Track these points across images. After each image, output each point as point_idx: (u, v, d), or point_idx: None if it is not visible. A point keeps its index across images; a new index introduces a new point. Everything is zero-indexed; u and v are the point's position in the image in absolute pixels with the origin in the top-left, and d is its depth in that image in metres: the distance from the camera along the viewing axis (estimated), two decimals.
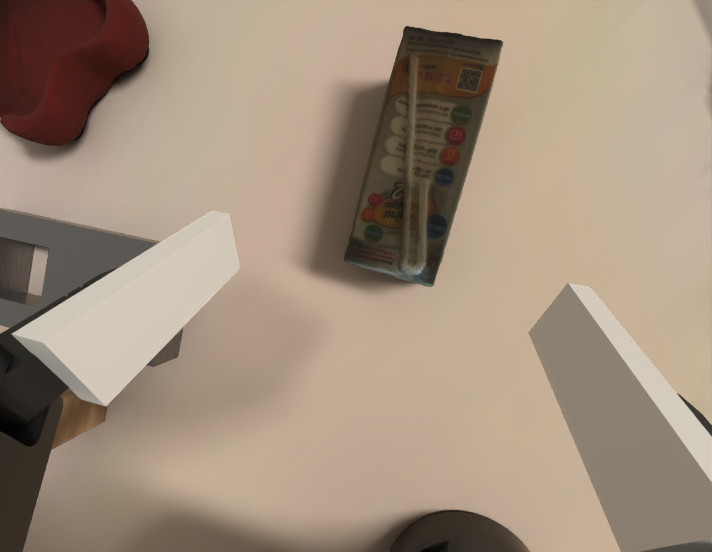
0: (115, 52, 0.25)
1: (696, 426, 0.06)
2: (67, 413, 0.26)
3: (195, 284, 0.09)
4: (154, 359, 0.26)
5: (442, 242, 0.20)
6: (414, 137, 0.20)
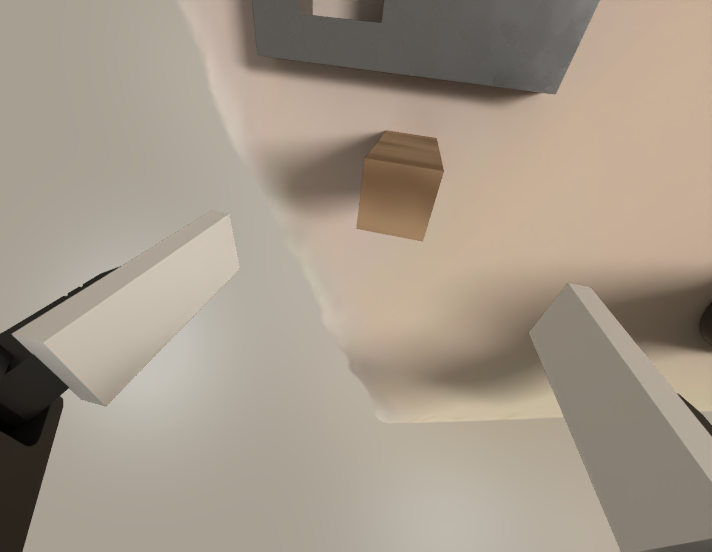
0: None
1: (696, 426, 0.06)
2: None
3: (195, 284, 0.09)
4: (559, 82, 0.19)
5: None
6: None
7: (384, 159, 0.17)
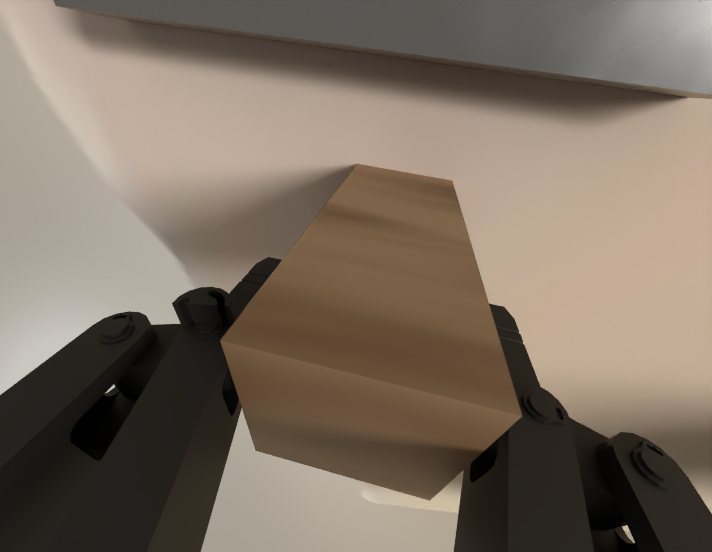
0: None
1: None
2: None
3: None
4: None
5: None
6: None
7: (300, 331, 0.05)
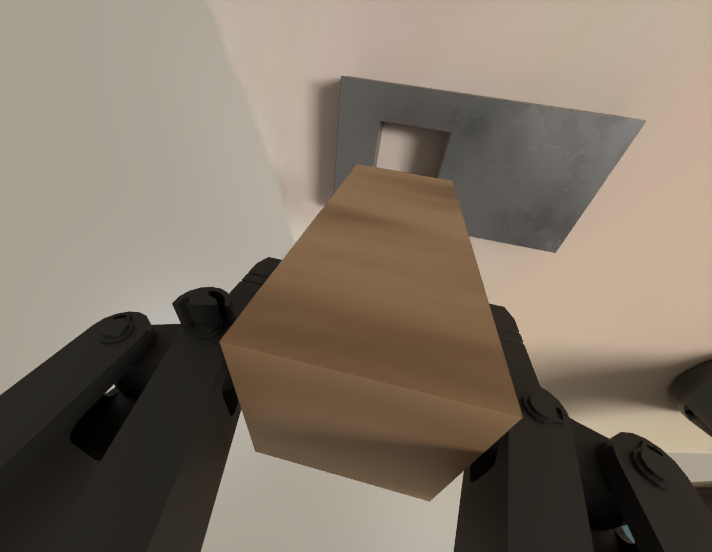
0: None
1: None
2: None
3: None
4: (558, 246, 0.27)
5: None
6: None
7: (299, 332, 0.05)
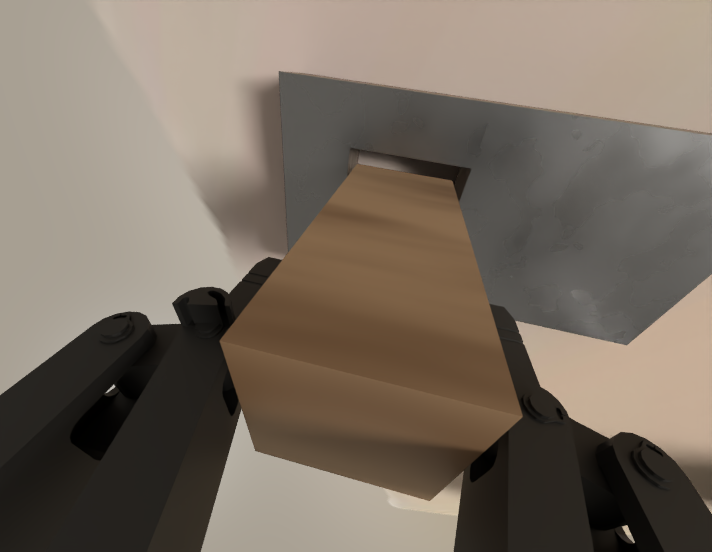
0: None
1: None
2: None
3: None
4: (632, 337, 0.17)
5: None
6: None
7: (299, 332, 0.05)
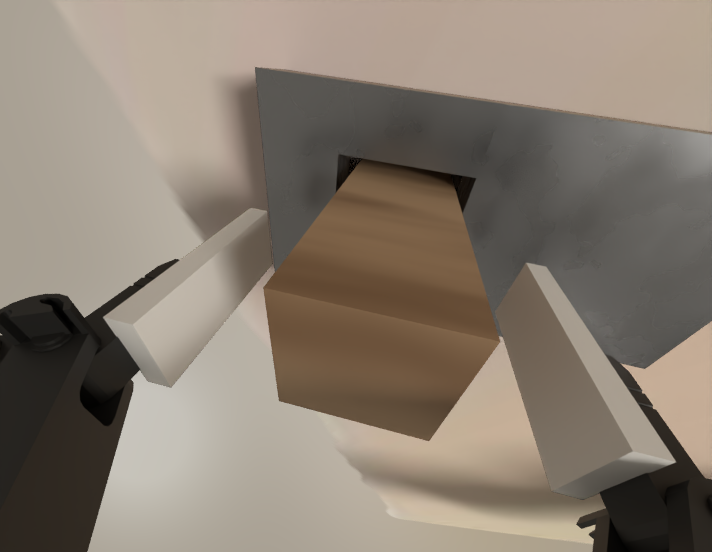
0: None
1: (613, 376, 0.06)
2: None
3: (239, 277, 0.10)
4: (652, 361, 0.16)
5: None
6: None
7: (325, 283, 0.06)
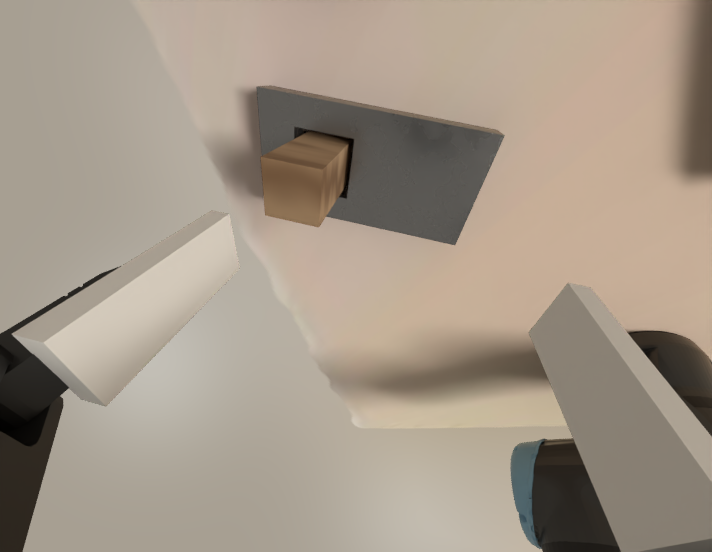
0: None
1: (696, 426, 0.06)
2: (343, 165, 0.28)
3: (195, 284, 0.09)
4: (456, 239, 0.31)
5: None
6: None
7: (278, 158, 0.21)
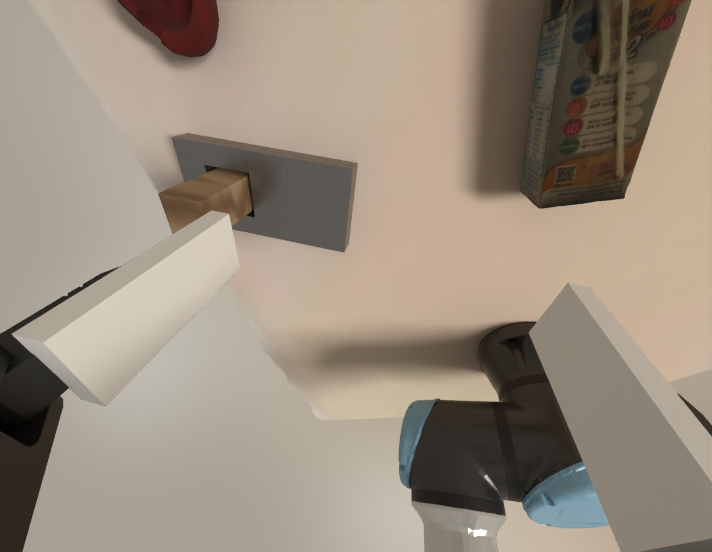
0: None
1: (696, 426, 0.06)
2: (243, 193, 0.36)
3: (195, 284, 0.09)
4: (344, 248, 0.39)
5: (575, 12, 0.19)
6: (616, 110, 0.22)
7: (172, 193, 0.29)
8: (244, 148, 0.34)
